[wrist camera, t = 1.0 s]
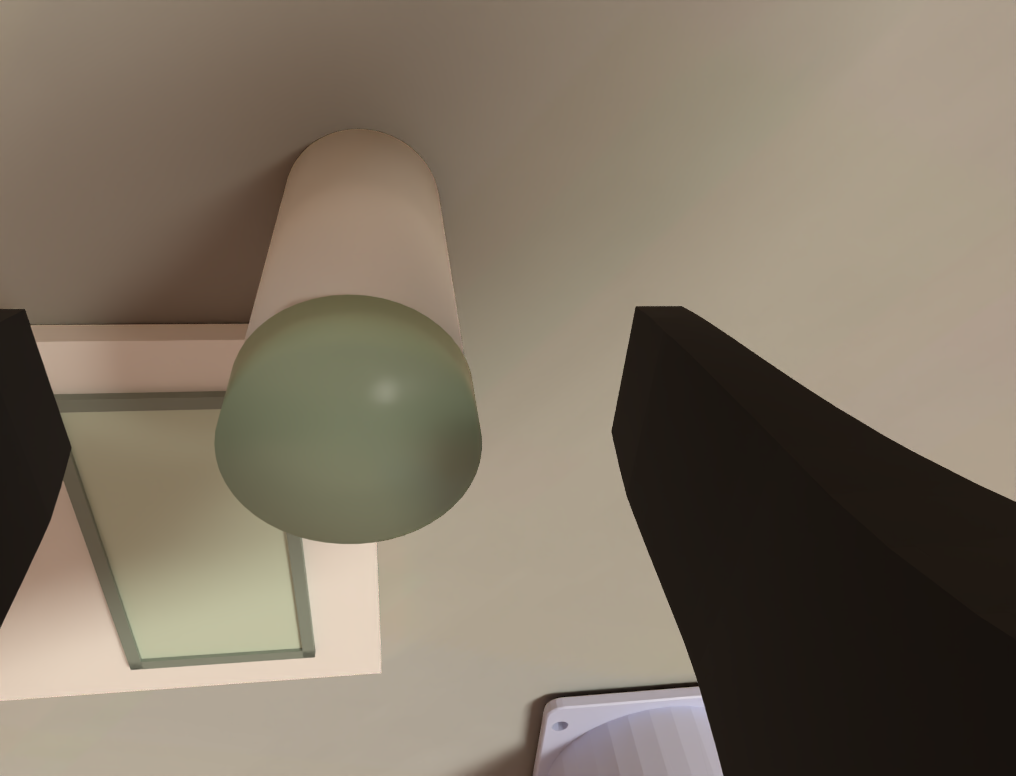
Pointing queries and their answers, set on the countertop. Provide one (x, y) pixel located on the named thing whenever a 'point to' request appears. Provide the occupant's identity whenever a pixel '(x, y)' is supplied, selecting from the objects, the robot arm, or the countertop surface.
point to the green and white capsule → (352, 355)
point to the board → (170, 538)
